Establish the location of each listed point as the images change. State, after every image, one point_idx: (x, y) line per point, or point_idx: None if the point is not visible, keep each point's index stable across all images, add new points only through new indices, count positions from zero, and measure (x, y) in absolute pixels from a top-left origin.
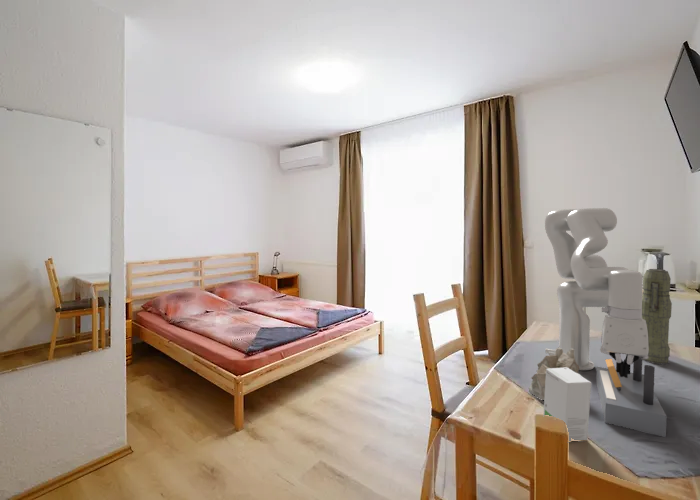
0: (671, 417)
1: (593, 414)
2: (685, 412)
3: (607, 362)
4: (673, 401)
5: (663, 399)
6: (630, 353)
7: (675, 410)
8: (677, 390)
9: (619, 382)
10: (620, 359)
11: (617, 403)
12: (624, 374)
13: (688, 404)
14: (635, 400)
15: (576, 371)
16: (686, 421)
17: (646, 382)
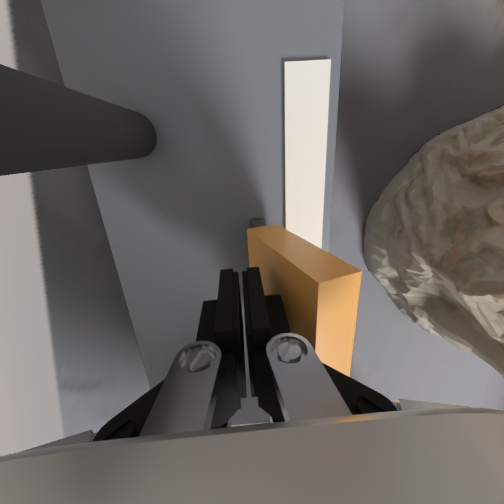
0: (99, 235)
1: (344, 87)
2: (68, 297)
3: (344, 356)
4: (103, 352)
5: (127, 351)
6: (154, 457)
7: (93, 295)
8: (99, 423)
9: (261, 236)
10: (278, 365)
11: (280, 14)
12: (237, 278)
13: (67, 355)
14: (190, 132)
15: (469, 263)
16: (58, 232)
17: (68, 89)
